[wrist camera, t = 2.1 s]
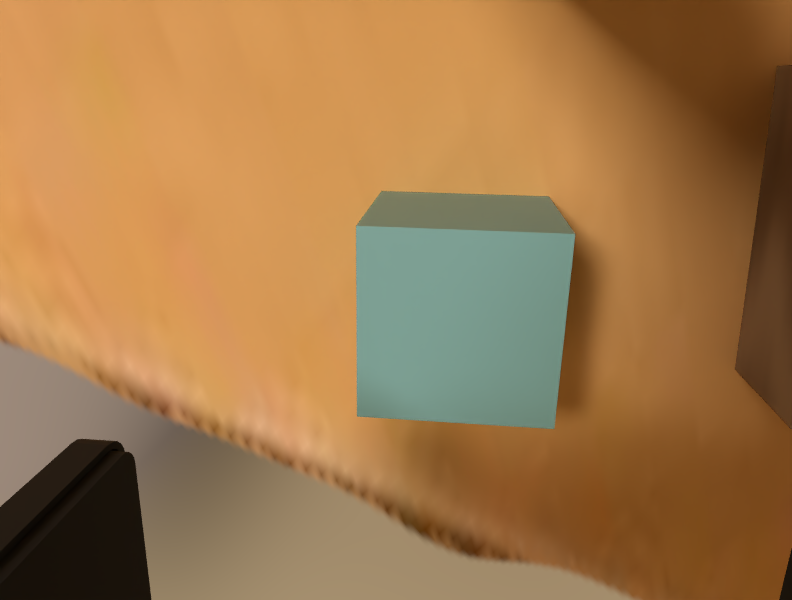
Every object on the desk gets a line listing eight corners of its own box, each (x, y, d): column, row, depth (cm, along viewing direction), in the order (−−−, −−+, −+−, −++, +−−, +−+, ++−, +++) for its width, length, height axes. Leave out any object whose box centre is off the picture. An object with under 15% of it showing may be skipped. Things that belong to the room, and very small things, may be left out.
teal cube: (381, 190, 20) (356, 225, 15) (548, 196, 19) (575, 233, 15) (380, 342, 21) (357, 416, 17) (534, 350, 21) (554, 429, 16)
